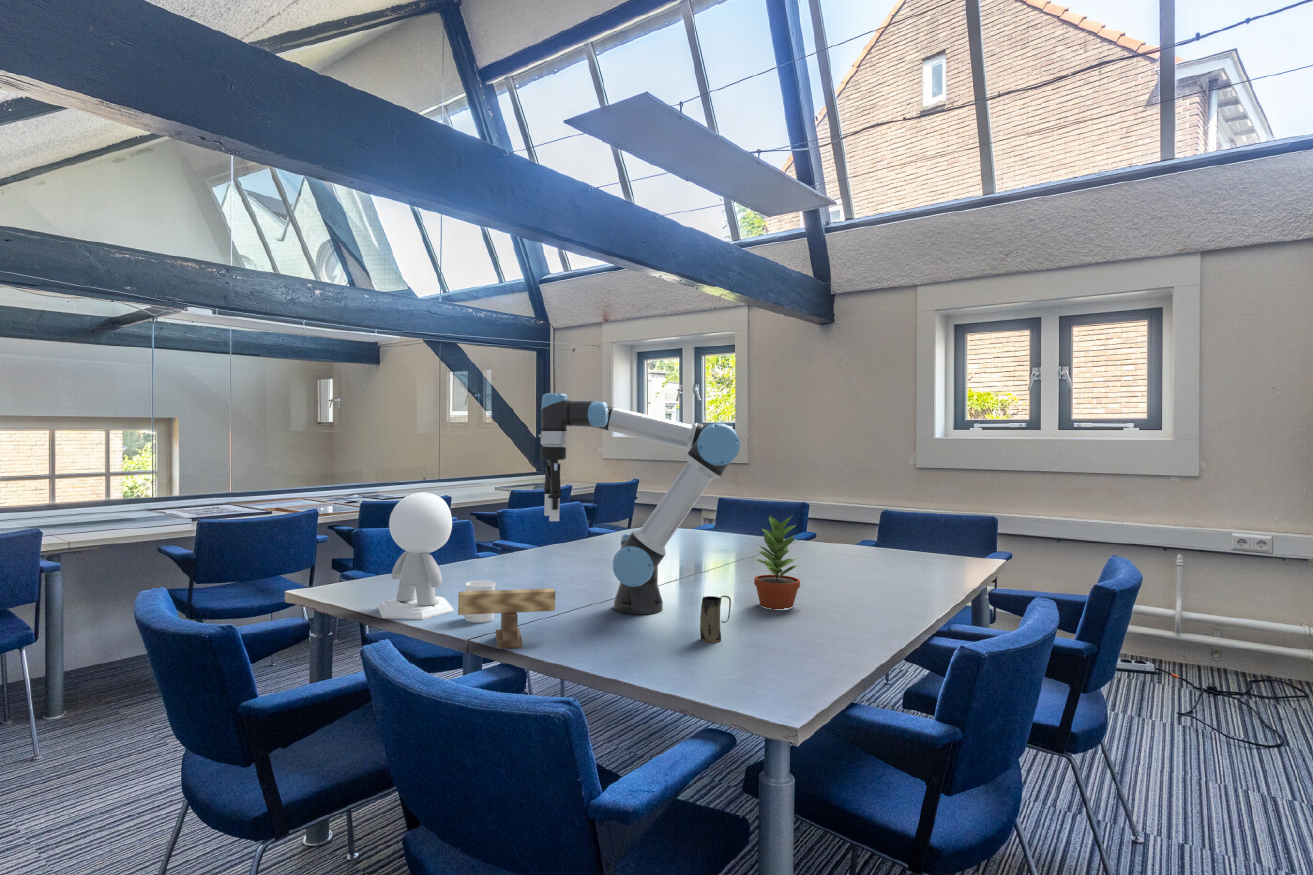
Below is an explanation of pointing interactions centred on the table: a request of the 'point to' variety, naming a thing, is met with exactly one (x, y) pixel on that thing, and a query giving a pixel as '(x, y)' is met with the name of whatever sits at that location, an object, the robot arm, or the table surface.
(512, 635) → the fulcrum
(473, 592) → the oak bar
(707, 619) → the mug
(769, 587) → the potted plant
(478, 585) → the mug
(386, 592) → the table surface
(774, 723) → the table surface
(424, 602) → the big headed doll
